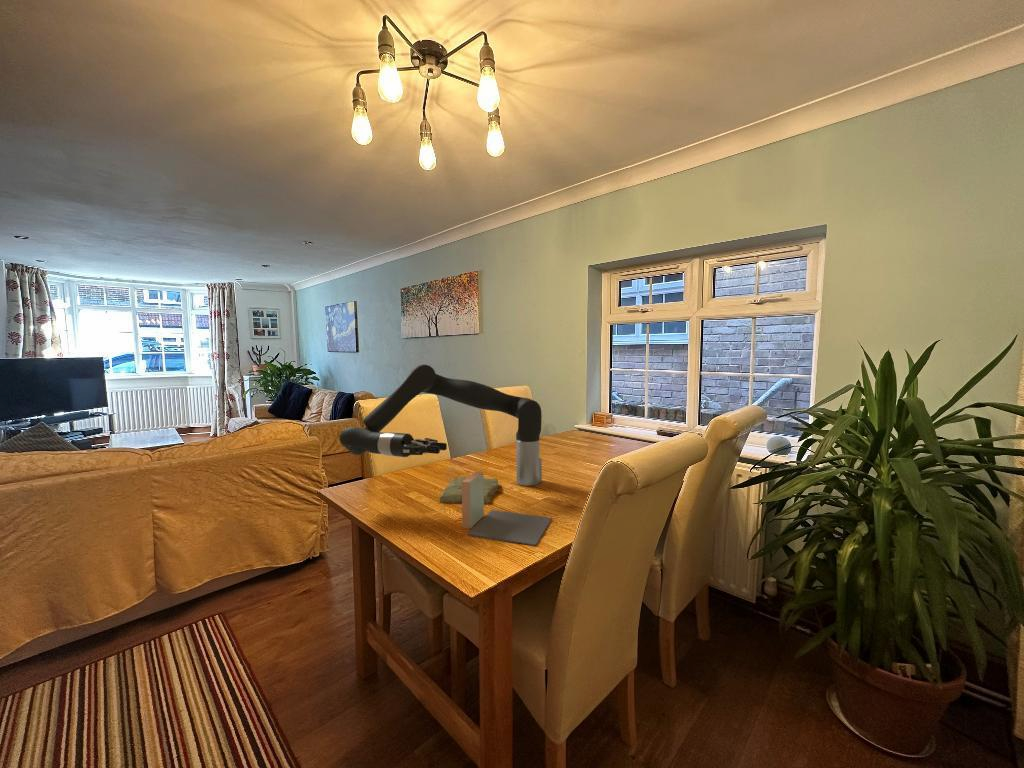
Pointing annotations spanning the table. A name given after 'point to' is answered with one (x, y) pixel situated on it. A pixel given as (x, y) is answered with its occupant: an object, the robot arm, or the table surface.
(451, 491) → the olive green flat block
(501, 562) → the table surface
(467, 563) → the table surface
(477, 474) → the glazed tile
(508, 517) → the charcoal mat
